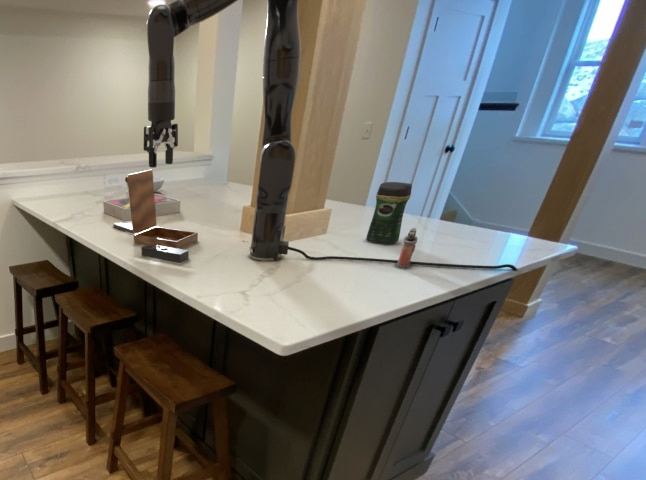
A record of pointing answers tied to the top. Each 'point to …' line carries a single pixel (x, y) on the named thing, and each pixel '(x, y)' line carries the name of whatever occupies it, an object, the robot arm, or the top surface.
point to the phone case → (125, 226)
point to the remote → (165, 253)
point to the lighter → (407, 249)
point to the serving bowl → (156, 182)
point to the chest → (166, 237)
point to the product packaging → (123, 211)
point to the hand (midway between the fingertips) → (161, 165)
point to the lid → (141, 200)
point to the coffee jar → (389, 212)
